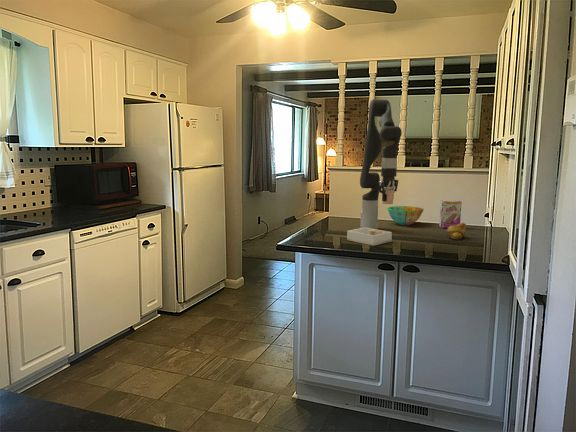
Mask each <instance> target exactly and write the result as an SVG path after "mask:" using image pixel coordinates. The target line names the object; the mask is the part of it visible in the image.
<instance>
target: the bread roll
mask: <svg viewBox="0 0 576 432" xmlns="http://www.w3.org/2000/svg"><path fill="white" fill-rule="evenodd" d="M466 230H467V224H466V223H465V222H460V224H457V225H453V226H450V227H449V228H446V235H447V238H450V239H452V240H461V239H463V238H465V236H466Z"/></svg>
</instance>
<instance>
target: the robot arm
mask: <svg viewBox="0 0 576 432" xmlns="http://www.w3.org/2000/svg"><path fill="white" fill-rule="evenodd" d="M392 115H393V114H392V106H391V103H390V101H389V100H388V99H378V98H377V99H376V98H372V99H371V100H370V101H369V107H368V121H367V130H366V131H367V132H366V137H365V143H364V144H365V145H364V154H363V162H362V163H363V164H362V165H361V167H362V168H361V172H360V177H359V185H360V187H361V188H362V189H370V190H369V191H368V192H366V193H364V194H363V195H362V199H361V201H362V205H361V206H362V207H361V212H360V221H359V222H360V223H359V224H360V226H359V227H360V228H365V227H366V228H372V229H377V230H378V219H379V197H380V194H381V200H382V202H383V201H384V202H386V201H387V191H388V190H389V189H392V190H393V199H394V196H395V195H394V194H395V192H397V191H398V186H399V179H396V177H397V174H398V173H397V171H398V170H397V169H398V160H397V158H398V147H399V143H400V140H401V138H402V137H401V136H402V132H403V131H402V128H401V127H399V126H397V125H395V122H394V120H393V116H392ZM376 117H377V118H379V117H380V118H379V120H378V122H379V123H378V124H379V130H378V127H377V125H376V121H375V119H376ZM383 141H384V142H386V141H387V142H388V141H392V143H391V144H389V145H384V146H383ZM382 146H383V147H382ZM381 151H382V154H381ZM380 154H381V155H382V159H381V165H380V166H381V167H380V168H381V170H380V172H381V173H380V174H379V173H378V172H370V169H371V167H372V165H373V164H374V162H375V161H376V160H377V158H379V157H380ZM380 176H381V177H382V180H381V177H380Z"/></svg>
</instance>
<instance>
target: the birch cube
mask: <svg viewBox="0 0 576 432" xmlns="http://www.w3.org/2000/svg"><path fill="white" fill-rule="evenodd" d="M383 231H384V230H383ZM383 231H381V229H377V230H376V229H374V230H369V235H378V234H382V232H383Z"/></svg>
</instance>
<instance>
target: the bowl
mask: <svg viewBox="0 0 576 432" xmlns="http://www.w3.org/2000/svg"><path fill="white" fill-rule="evenodd" d="M386 210H387V212H388V215H389V217H390V218H391V219H392V220H393V221H394V222H395V223H397V224H398V225H400V226H411V225H412V224H415V223H416V222H417V221H418V220H419V219H420V217H421V216H422V214H423V212H424V210H425V209H424V208H422V207H418V206H409V205H408V206H405V205H397V206H394V205H393V206H389V207H387V208H386Z"/></svg>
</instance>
